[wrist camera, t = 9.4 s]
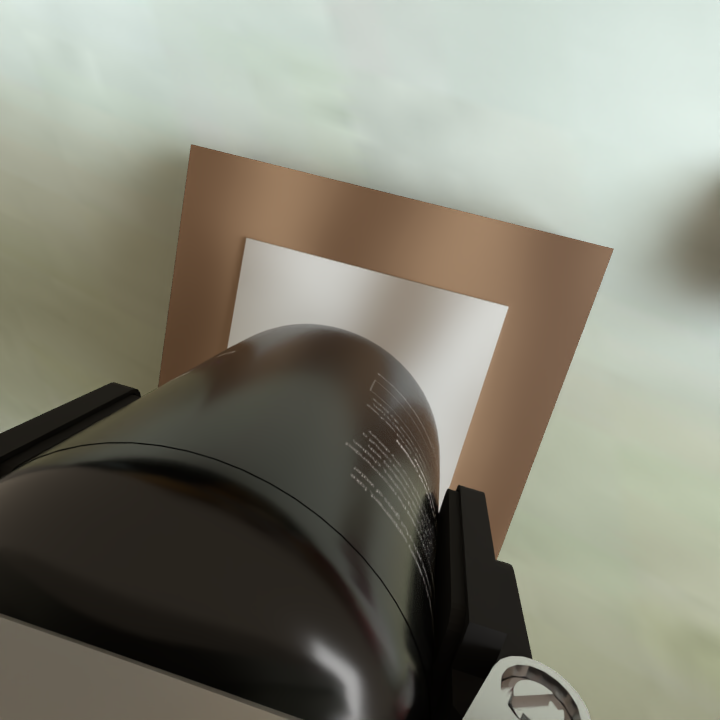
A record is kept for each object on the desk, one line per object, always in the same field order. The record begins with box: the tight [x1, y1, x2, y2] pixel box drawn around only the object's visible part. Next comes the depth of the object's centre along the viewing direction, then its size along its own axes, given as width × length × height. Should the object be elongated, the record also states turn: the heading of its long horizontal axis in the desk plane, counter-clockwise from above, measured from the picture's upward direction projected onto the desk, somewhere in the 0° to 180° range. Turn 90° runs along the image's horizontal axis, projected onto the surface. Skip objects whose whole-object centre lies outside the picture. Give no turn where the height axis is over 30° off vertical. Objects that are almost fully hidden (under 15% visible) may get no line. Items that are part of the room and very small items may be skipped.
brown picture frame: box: [158, 144, 613, 560], centre depth 20 cm, size 14×14×4 cm
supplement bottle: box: [0, 324, 440, 720], centre depth 8 cm, size 7×7×12 cm
